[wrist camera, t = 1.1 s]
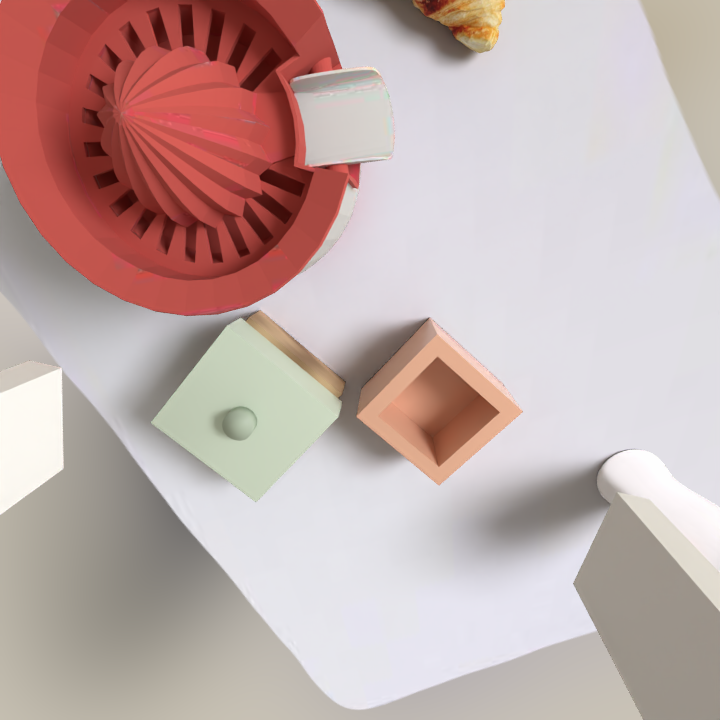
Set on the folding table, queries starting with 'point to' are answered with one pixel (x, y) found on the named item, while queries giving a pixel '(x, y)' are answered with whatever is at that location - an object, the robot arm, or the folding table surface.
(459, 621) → the folding table surface
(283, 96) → the citrus juicer
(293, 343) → the wooden block
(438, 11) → the croissant
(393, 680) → the folding table surface
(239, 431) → the lid
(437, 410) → the open box
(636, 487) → the beer glass
